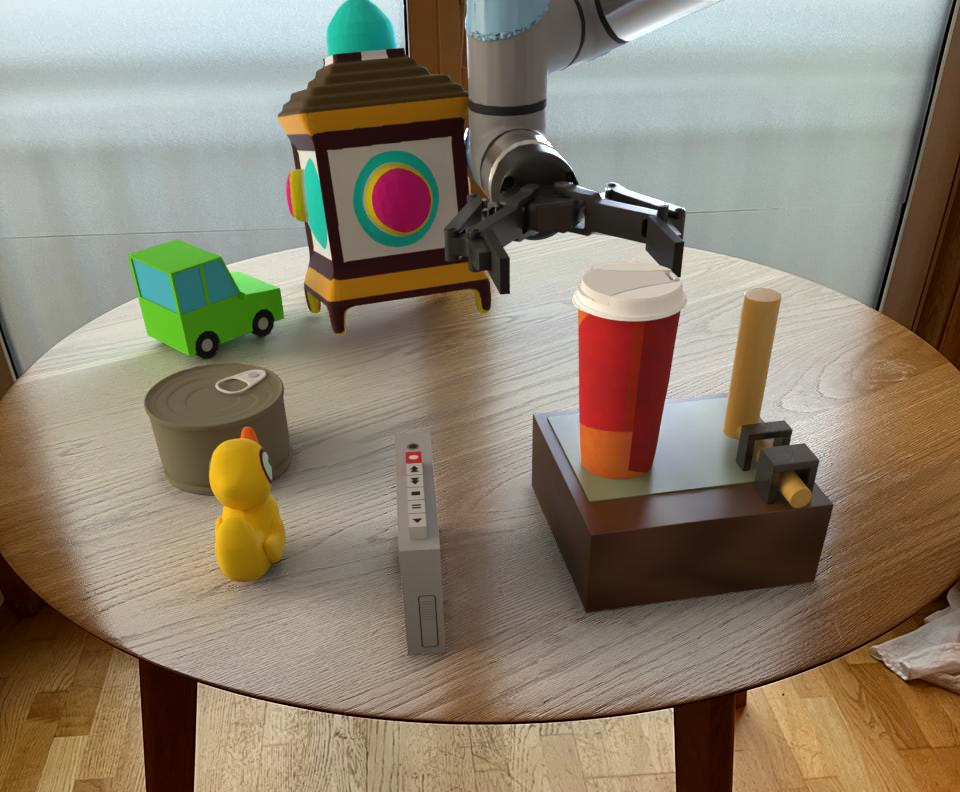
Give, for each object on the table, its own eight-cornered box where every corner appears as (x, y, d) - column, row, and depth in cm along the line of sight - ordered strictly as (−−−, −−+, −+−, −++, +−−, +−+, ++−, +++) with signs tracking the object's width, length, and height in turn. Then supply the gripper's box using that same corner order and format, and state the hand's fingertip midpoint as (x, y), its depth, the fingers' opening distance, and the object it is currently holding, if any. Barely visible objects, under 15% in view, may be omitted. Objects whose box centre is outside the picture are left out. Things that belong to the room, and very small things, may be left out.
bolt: (748, 423, 79) (772, 286, 72) (816, 506, 70) (851, 358, 63) (717, 427, 79) (738, 289, 72) (781, 510, 70) (812, 362, 63)
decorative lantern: (509, 313, 105) (483, -26, 91) (325, 342, 100) (267, -10, 86) (455, 289, 122) (426, 1, 108) (295, 313, 117) (243, 15, 103)
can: (134, 467, 90) (115, 398, 86) (237, 417, 97) (224, 350, 93) (218, 512, 85) (202, 440, 80) (321, 455, 91) (311, 386, 87)
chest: (726, 462, 89) (744, 355, 82) (814, 581, 76) (843, 465, 69) (531, 486, 87) (533, 377, 80) (586, 613, 73) (593, 495, 67)
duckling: (233, 520, 84) (210, 413, 77) (297, 518, 84) (279, 411, 77) (208, 604, 75) (179, 491, 68) (279, 602, 75) (257, 489, 68)
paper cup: (650, 431, 79) (668, 254, 70) (681, 481, 74) (705, 295, 64) (554, 441, 78) (560, 263, 69) (578, 492, 73) (588, 306, 64)
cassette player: (402, 530, 82) (393, 421, 75) (435, 527, 82) (429, 419, 76) (407, 654, 70) (397, 538, 64) (446, 652, 70) (439, 536, 64)
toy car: (295, 330, 113) (282, 240, 106) (197, 369, 106) (176, 275, 99) (241, 306, 118) (226, 220, 112) (145, 342, 111) (122, 252, 105)
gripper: (655, 217, 95) (740, 301, 79) (398, 240, 92) (433, 332, 76) (663, 132, 90) (755, 203, 75) (391, 152, 87) (427, 231, 71)
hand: (592, 268), depth 75 cm, fingers open, 13 cm apart
